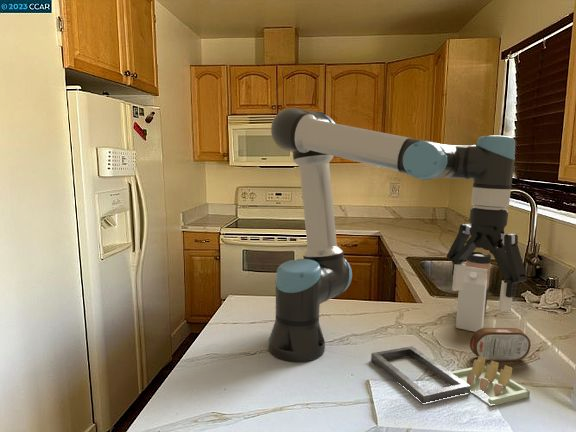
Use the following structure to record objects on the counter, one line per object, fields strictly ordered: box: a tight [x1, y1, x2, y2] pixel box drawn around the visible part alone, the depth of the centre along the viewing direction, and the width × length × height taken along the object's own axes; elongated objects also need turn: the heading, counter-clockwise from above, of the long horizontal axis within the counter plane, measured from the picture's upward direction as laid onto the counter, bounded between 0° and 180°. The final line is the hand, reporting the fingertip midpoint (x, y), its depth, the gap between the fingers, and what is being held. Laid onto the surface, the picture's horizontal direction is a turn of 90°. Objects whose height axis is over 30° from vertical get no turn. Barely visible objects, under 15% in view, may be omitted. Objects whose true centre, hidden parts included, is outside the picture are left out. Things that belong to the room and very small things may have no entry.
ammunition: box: [467, 356, 514, 396], centre depth 90 cm, size 5×7×8 cm
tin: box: [469, 326, 532, 362], centre depth 103 cm, size 15×3×8 cm, turn 92°
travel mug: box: [465, 251, 492, 314], centre depth 138 cm, size 8×8×20 cm
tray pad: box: [450, 364, 531, 406], centre depth 91 cm, size 11×12×1 cm
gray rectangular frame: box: [370, 345, 471, 403], centre depth 95 cm, size 12×20×2 cm, turn 20°
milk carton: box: [455, 266, 487, 333], centre depth 123 cm, size 7×7×19 cm
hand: (479, 299), depth 91 cm, fingers open, 13 cm apart
